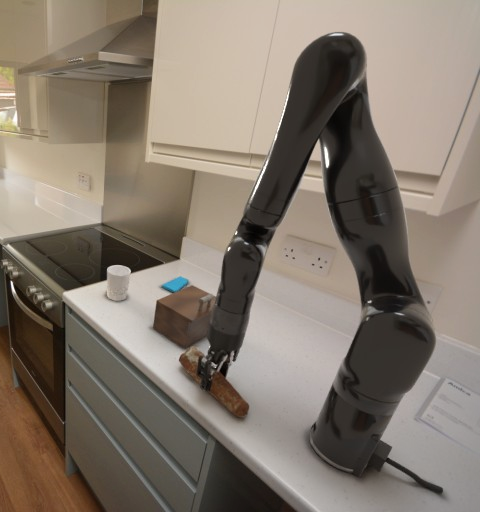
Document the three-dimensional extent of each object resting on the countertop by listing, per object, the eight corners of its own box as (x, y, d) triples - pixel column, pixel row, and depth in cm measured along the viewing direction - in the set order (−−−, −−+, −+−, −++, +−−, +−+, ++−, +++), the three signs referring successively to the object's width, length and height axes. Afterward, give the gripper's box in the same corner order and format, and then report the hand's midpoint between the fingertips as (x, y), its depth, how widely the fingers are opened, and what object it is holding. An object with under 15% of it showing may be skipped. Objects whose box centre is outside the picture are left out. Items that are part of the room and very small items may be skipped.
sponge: (193, 282, 128) (180, 274, 132) (174, 291, 121) (161, 283, 124) (192, 285, 129) (180, 278, 132) (173, 295, 121) (160, 287, 125)
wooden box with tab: (226, 304, 99) (229, 291, 97) (191, 323, 89) (194, 308, 87) (191, 287, 107) (193, 274, 106) (156, 302, 98) (158, 289, 96)
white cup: (113, 288, 122) (115, 263, 119) (132, 295, 118) (135, 269, 114) (101, 296, 117) (102, 270, 113) (120, 304, 112) (122, 277, 108)
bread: (195, 360, 89) (198, 342, 87) (252, 416, 73) (258, 397, 71) (175, 366, 86) (178, 348, 84) (230, 425, 70) (235, 406, 68)
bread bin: (218, 328, 103) (224, 303, 99) (184, 349, 93) (189, 322, 89) (187, 311, 111) (191, 287, 107) (152, 328, 101) (156, 302, 98)
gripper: (225, 344, 66) (208, 408, 72) (261, 320, 74) (243, 379, 81) (193, 325, 71) (180, 387, 78) (230, 305, 79) (216, 362, 86)
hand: (213, 383), depth 79 cm, fingers closed on bread, 6 cm apart
